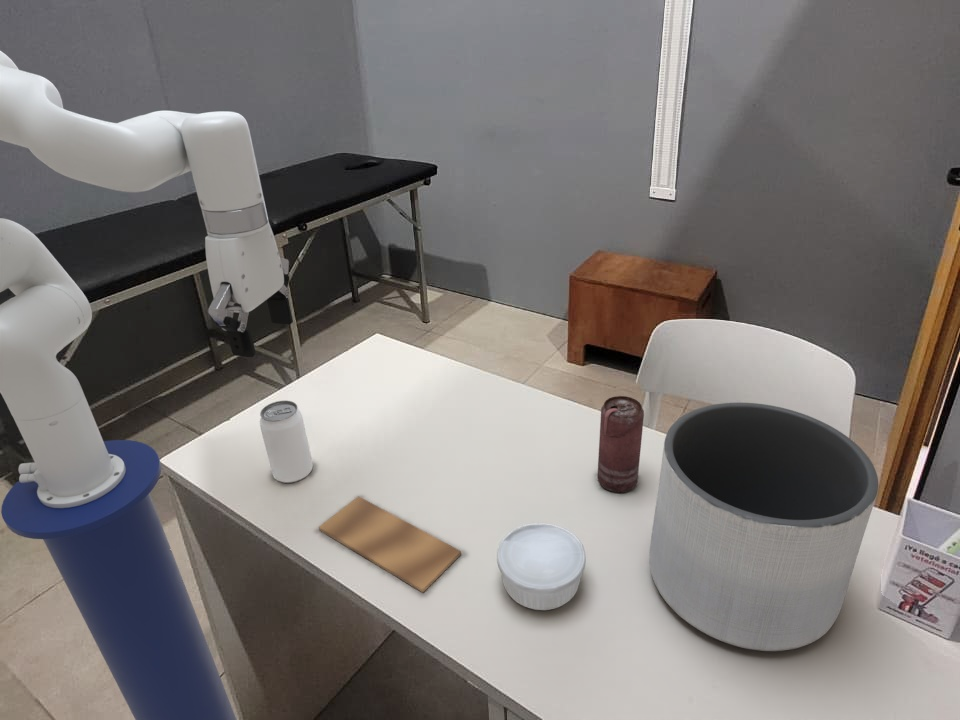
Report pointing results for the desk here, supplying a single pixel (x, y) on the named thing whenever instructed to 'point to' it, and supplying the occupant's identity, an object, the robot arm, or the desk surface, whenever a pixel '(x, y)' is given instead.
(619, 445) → the can
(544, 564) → the ramekin
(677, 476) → the planter
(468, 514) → the desk surface
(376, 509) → the board
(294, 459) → the can
